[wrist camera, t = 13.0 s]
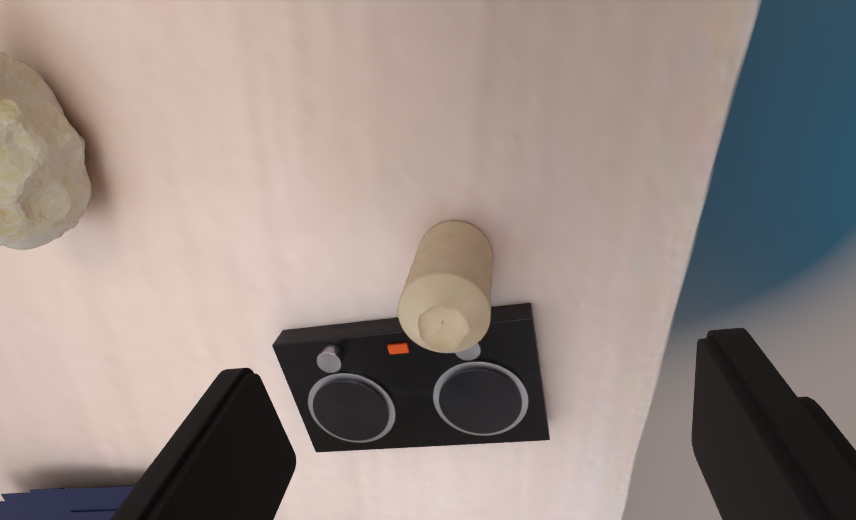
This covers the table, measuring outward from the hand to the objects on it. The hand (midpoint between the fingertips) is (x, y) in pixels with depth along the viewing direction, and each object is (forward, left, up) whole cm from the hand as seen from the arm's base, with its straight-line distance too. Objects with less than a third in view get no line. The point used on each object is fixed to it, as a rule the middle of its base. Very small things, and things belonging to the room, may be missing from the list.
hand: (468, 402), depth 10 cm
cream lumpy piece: (-9, -32, -25) cm, 42 cm away
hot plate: (+18, -9, -25) cm, 32 cm away
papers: (+39, -46, -25) cm, 66 cm away
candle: (+7, -4, -25) cm, 26 cm away
